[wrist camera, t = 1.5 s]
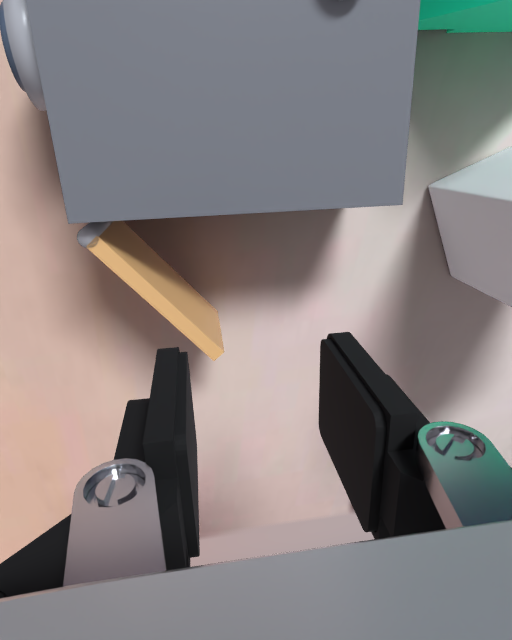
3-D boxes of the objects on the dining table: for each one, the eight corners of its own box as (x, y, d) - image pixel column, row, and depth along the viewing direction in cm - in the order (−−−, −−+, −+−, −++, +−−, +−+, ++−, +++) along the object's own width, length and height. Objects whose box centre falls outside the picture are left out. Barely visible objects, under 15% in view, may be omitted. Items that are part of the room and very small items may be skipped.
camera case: (348, 191, 29) (408, 209, 21) (72, 205, 27) (24, 231, 19) (358, -33, 25) (438, -116, 17) (27, -36, 23) (-60, -132, 15)
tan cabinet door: (204, 323, 31) (208, 366, 25) (94, 220, 27) (67, 242, 21) (218, 310, 31) (225, 350, 25) (109, 205, 27) (86, 223, 21)
